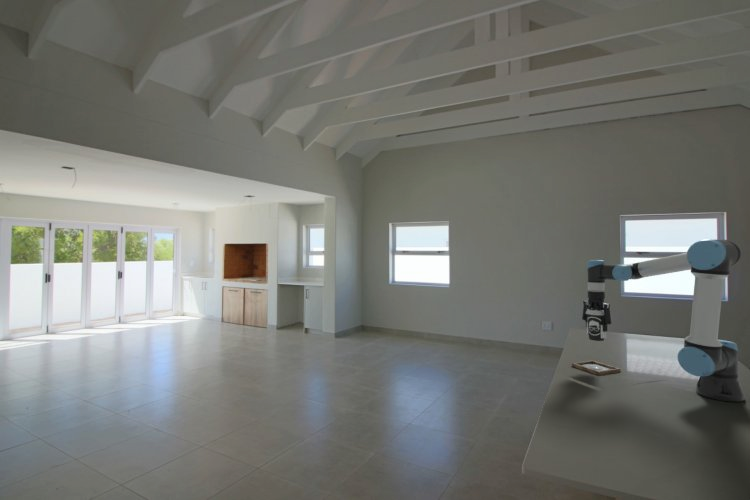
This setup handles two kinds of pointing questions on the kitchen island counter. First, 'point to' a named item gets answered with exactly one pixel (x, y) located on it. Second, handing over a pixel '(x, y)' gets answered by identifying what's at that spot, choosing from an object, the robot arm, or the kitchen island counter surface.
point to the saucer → (596, 367)
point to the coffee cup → (594, 324)
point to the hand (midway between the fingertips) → (596, 336)
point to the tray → (612, 370)
